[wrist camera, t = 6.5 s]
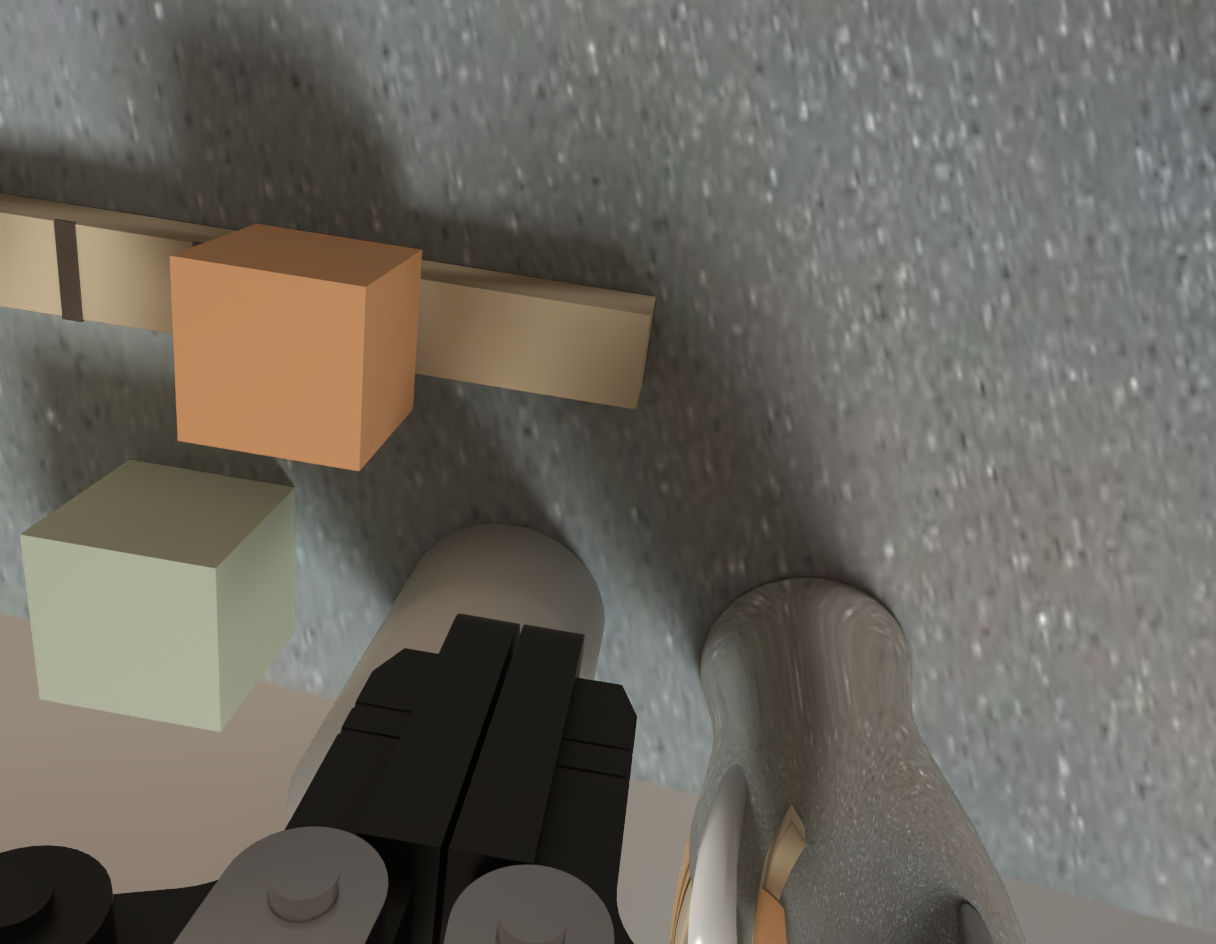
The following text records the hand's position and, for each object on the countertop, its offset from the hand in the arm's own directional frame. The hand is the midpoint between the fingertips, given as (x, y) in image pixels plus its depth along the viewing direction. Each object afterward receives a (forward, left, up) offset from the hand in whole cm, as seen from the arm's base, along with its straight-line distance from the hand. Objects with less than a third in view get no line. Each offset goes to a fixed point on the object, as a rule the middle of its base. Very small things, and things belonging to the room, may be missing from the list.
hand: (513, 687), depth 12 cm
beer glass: (-7, +9, -16) cm, 19 cm away
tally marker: (+7, 0, -13) cm, 15 cm away
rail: (+10, 0, -16) cm, 19 cm away
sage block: (+11, +9, -16) cm, 21 cm away
